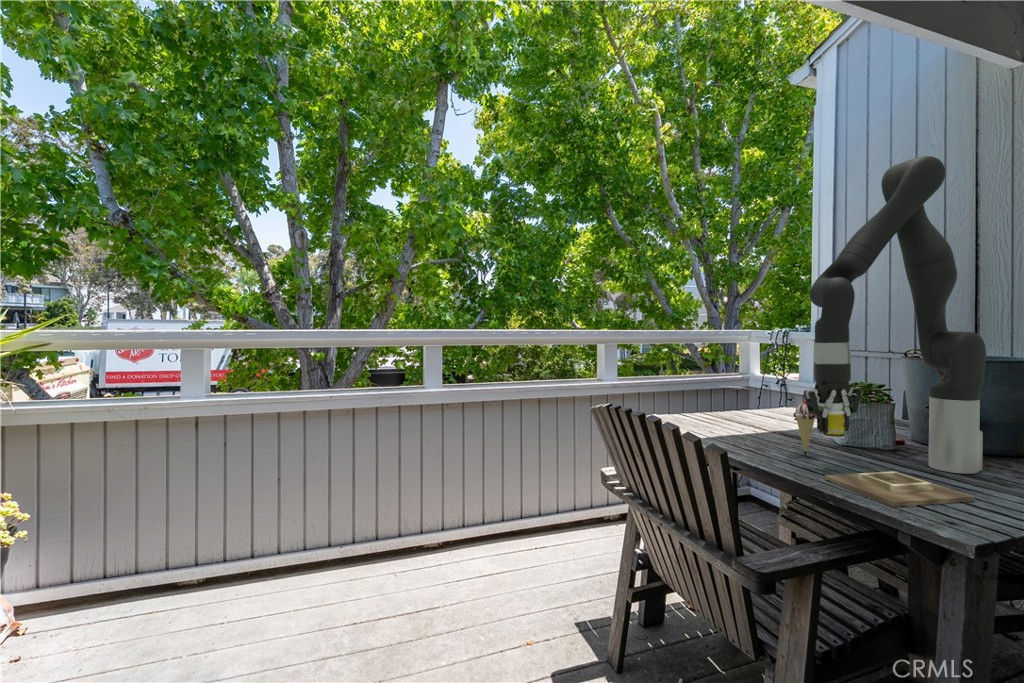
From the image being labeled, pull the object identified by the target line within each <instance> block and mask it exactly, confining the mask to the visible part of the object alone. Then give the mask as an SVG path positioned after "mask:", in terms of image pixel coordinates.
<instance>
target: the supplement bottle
mask: <svg viewBox="0 0 1024 683" xmlns="http://www.w3.org/2000/svg"><path fill="white" fill-rule="evenodd" d="M823 404H825V403H824V402H823ZM842 409H843V403H832V406H831V408H830V409H829V410H828V414H827V417H826V418H828V432H827V433H822V432H821V437H823V438H826V439H831V440H832V439H833V440H842V439H845V437H846V431H845V413H844V411H842Z"/></svg>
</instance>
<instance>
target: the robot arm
mask: <svg viewBox="0 0 1024 683" xmlns="http://www.w3.org/2000/svg"><path fill="white" fill-rule="evenodd" d="M945 178H946V168H945V165H944V163H943V161H941V159H939V158H938V157H935V156H932V155H922V156H919V157H918V156H917V157H915V158H911V159H908V160H905V161H902V162H900V163H897V164H894V165H892V166H891V167H889V168H888V169H887V170H886V171H885V172H884V173H883V176H882V178H881V190H882V191H881V193H882V195H883V198H884V199H883V200H885V205H884V206H882V207H881V208H880V209H879V211H877V213H875V214H874V215H873V216H872V217H871V218H870V219H869V220H868V221H867V222H866V223H864V225H862V226H861V227H860V228H859V229H858V230H857V231H856V232H855V233H854V234H853V235H852V237H850V239H849V240H848V242H847V244H846V245H845V246H844V247H843V249H842V250H841V251H840V252H839V254H838V256H837V257H836V259H835V260H834V261H833V262H832V263H831V264H830V265H829V266H828V267H827V268H826V269H825V270H824V271H823V272H822V273H821V274H820V275H819V277H817V279H816V280H815V281H814V283H813V284H812V285H811V288H810V290H809V299H810V302H812V304H813V305H814V306H816V307H818V308H821V313H820V314H821V315H820V317H819V318H818V319H817V320H816V322H815V324H814V347H813V348H814V349H813V375H814V376H813V378H814V381H815V386H814V388H813V389H811V390H808V389H806V390H803V397H804V401H806V405H807V408H808V412H809V413H810V414H813V415H816V416H817V419H816V428H817V430H818V432H819V433H821V434H822V433H827V432H828V418H826V417H827V414H828V410H829V409H830V408H831V406H832V403H843V409H842V411H844V413H845V432H848V431H849V429H850V416H851V415H852V414H856V413H858V410H859V405H860V400H861V396H862V393H863V392H862V391H863V390H862V388H858V387H852V386H851V385H850V381H851V380H852V352H851V346H850V325H849V324H850V321H851V318H852V313H853V309H854V305H855V296H856V295H855V290H854V285H853V284H852V283H853V282H854V281H855V280H856V279H858V278H859V277H862V276H863V275H865V274H866V273H867V272H868V270H869V269H870V268H871V267H872V265H873V264H874V262H875V261H876V260H877V258H878V257H879V256H880V254H881V253H882V252H883V250H884V249H885V248H886V246H887V245H888V243H889V242H890V241H891V240H892V238H894V236H895V235H896V237H897V240H898V243H899V244H898V245H899V247H900V251H901V255H902V259H903V265H904V269H905V274H906V279H907V281H908V285H909V288H910V293H911V297H912V301H913V302H912V303H913V307H914V312H915V313H914V314H915V319H916V326H917V328H916V329H917V334H918V343H919V351H920V354H921V357H922V359H923V361H924V362H925V364H926V365H927V366H929V367H931V368H934V369H941V370H949V374H948V378H946V379H945V380H943V381H941V382H937V383H933V384H931V385H930V387H929V389H928V390H929V391H928V396H929V397H928V402H929V403H928V406H929V407H928V410H929V411H928V467H929V468H932V469H934V470H938V471H942V472H947V473H954V474H962V475H963V474H964V475H966V474H967V475H968V474H969V475H972V474H978V473H979V472H982V471H983V443H984V442H983V437H984V436H983V434H984V433H983V431H982V430H980V424H981V423H980V421H981V420H980V419H981V417H980V415H981V414H980V413H981V412H980V410H981V409H980V408H981V406H980V405H981V404H980V403H981V402H980V401H981V400H980V399H981V398H980V397H981V392H982V390H983V387H984V383H985V374H986V373H985V370H986V359H987V348H986V344H985V341H984V339H983V338H982V336H981V335H980V334H979V333H976V332H974V331H957V330H956V331H950V330H948V327H947V322H946V315H945V314H946V313H945V311H946V305H947V303H948V300H949V298H950V296H951V294H952V293H953V290H954V288H955V285H956V282H957V280H958V270H957V269H958V268H957V265H956V260H955V257H954V252H953V250H952V247H951V246H950V244H949V242H948V241H947V240H946V238H945V237H944V236H943V235H942V234H941V232H940V230H939V231H938V229H937V228H936V227H935V226H934V225H933V224H932V222H931V220H930V219H929V218H928V215H927V211H926V209H925V205H924V204H925V203H926V202H927V201H928V200H929V199H930V198H931V197H932V196H933V195H934V194H935V193H936V192H937V191H938V190H939V189H940V188H941V186H942V184H943V183H944V181H945ZM823 402H824V403H825V404H823Z"/></svg>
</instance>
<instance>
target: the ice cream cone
mask: <svg viewBox="0 0 1024 683" xmlns="http://www.w3.org/2000/svg"><path fill="white" fill-rule="evenodd" d="M796 405H797V404H796ZM793 417H794V418H796V422H797V427H798V430H799V431H798V432H799V435H800V440H801V443H802V448H803V453H804V457H805V456H807V453H808V449H809V445H810V440H811V438H812V437H811V436H812V432H813V428H814V424H815V420H817V416H816V415H813V414H810V413H809V412H808V408H807V405H806V401H805V400H804V401H803V402H802V403H800V404H798V405H797V406H796V408H795V412H793Z"/></svg>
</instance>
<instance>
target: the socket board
mask: <svg viewBox="0 0 1024 683" xmlns="http://www.w3.org/2000/svg"><path fill="white" fill-rule="evenodd" d="M825 479H826V480H829V481H831V482H833V483H832V484H834V483H836V484H838V485H837V486H839V485H840V487H841V486H842V487H841V488H844V487H845V488H844V489H846V488H847V490H849V489H850V490H849V491H851V490H852V492H854V491H855V493H857V494H859V495H861V496H865V497H867V498H870V499H871V500H875V501H877V502H880V503H881V504H885V505H887V506H889V505H890V506H889V507H892V508H902V507H901V506H907V507H918V506H917V505H921V506H932V505H931V504H935V505H946V504H948V503H949V504H960V503H959V502H963V503H973V501H976V500H975V499H976V498H975V496H974V495H971V494H967V493H965V492H961V491H958V490H955V489H951V488H948V487H946V486H942V485H939V484H936V483H932V482H930V481H927V480H924V479H920V478H917V477H913V476H910V475H907V474H904V473H900V472H898V471H895V470H894V471H878V472H876V471H875V472H864V473H863V472H862V473H860V472H859V473H858V472H857V473H846V474H844V473H841V474H828V475H827V474H825V475H824V480H825ZM826 480H825V481H826ZM829 481H828V482H829ZM831 482H830V483H831ZM836 484H835V485H836ZM971 501H972V502H971Z"/></svg>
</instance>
